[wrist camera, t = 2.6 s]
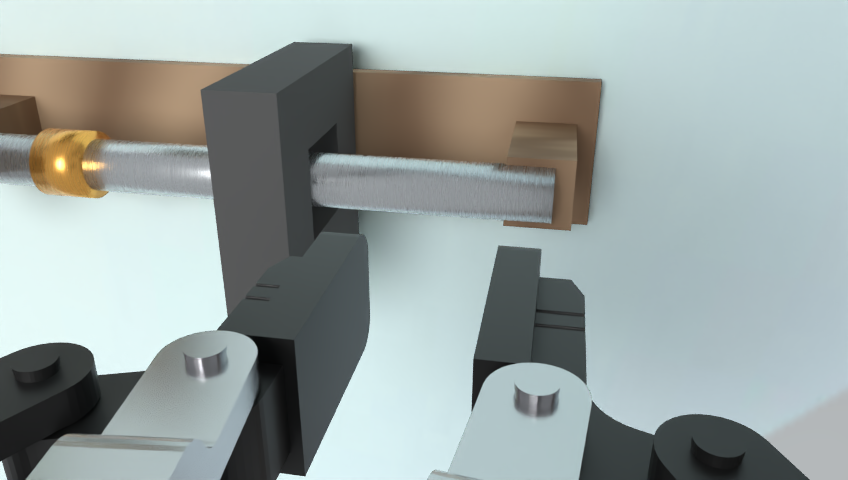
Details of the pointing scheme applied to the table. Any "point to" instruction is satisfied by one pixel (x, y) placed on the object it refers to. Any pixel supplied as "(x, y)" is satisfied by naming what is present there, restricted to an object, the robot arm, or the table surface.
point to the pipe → (329, 176)
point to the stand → (373, 107)
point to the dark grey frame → (276, 156)
